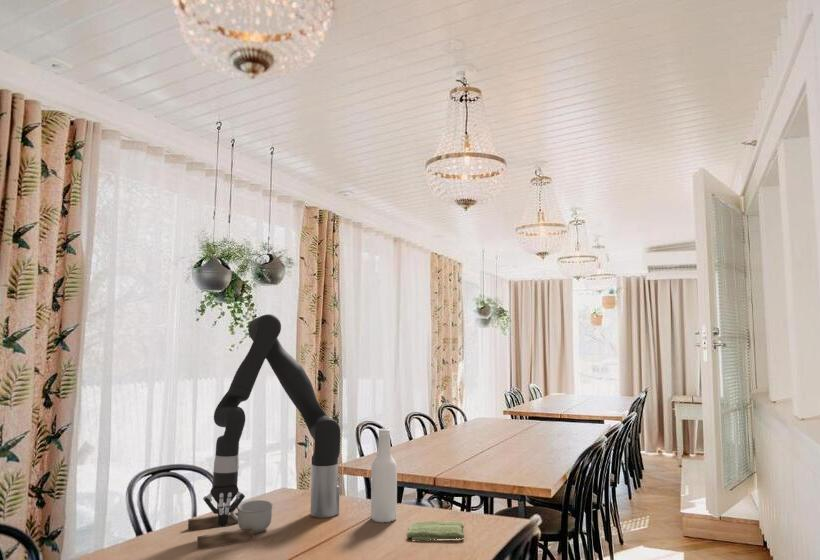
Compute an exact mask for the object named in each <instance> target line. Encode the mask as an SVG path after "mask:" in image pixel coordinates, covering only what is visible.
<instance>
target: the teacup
mask: <svg viewBox="0 0 820 560" xmlns="http://www.w3.org/2000/svg"><path fill="white" fill-rule="evenodd" d="M236 510H237V513H238V516H237V515H236V514H235V513H236V512H235V510H234V511H233V512H230V513H229V514H231V516H232V517H233V518H234V519H235V520H237V522H238V523H237V524H238V527H239V528H240V530H243V529H249V528H253V534H258V533H263V532H264V531H265V530H266V529H268V527H269V526H270V525H271V523H272V516H273V503H272V502H271V501H269V500H263V499H253V500H248V501H245V502H241V503H240V504H239V505H238V506H237V508H236Z"/></svg>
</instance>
